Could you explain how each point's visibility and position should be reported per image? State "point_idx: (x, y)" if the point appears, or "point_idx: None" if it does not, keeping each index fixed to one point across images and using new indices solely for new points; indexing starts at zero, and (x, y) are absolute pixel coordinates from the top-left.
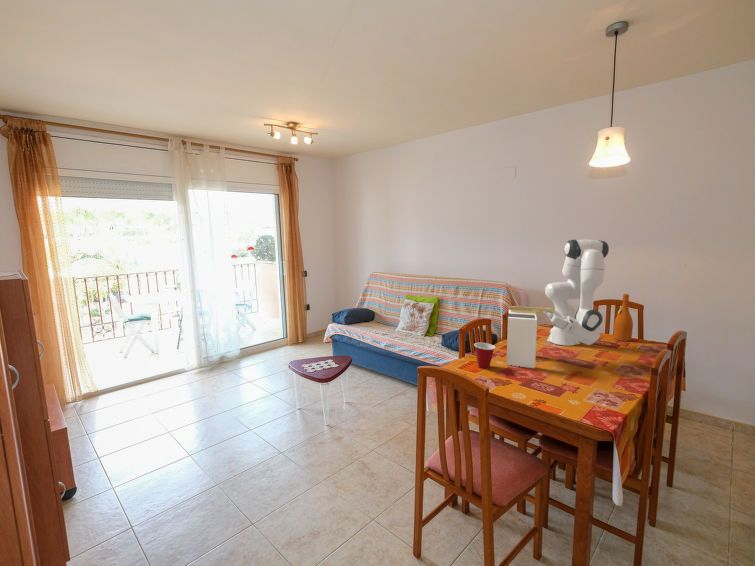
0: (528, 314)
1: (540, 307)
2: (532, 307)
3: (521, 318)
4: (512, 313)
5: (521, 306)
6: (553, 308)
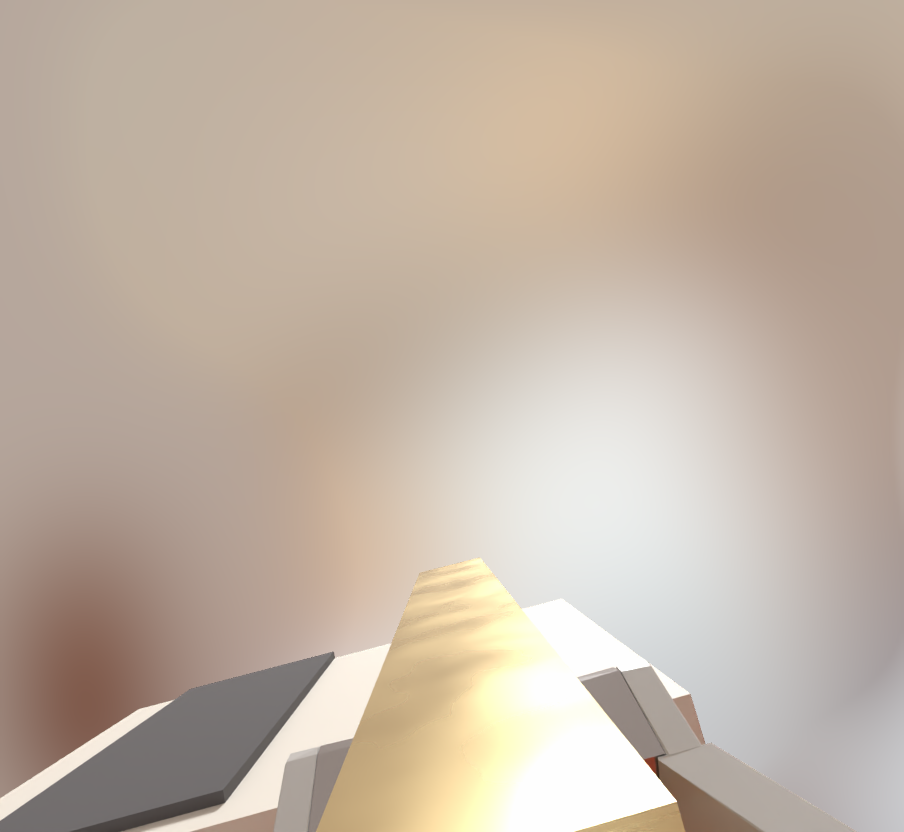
0: (316, 737)
1: (516, 625)
2: (455, 605)
3: (49, 772)
4: (362, 660)
5: (479, 572)
6: (533, 825)
